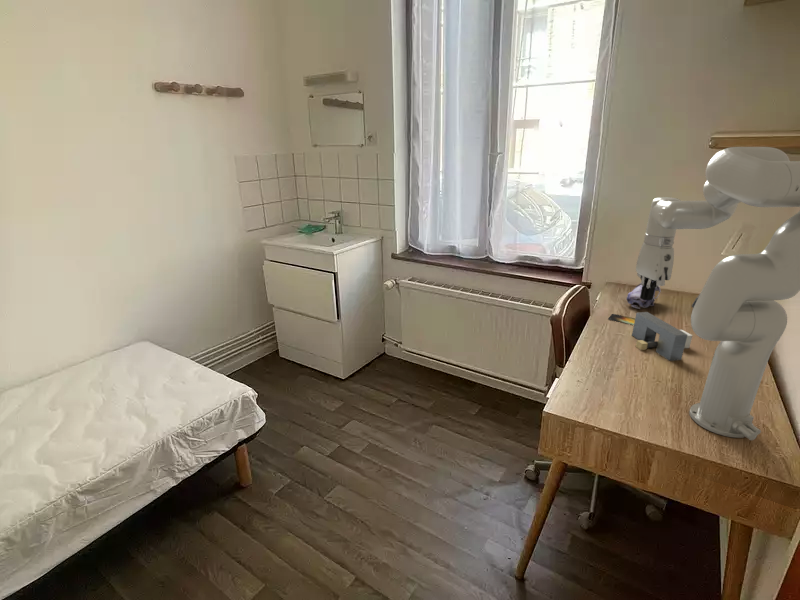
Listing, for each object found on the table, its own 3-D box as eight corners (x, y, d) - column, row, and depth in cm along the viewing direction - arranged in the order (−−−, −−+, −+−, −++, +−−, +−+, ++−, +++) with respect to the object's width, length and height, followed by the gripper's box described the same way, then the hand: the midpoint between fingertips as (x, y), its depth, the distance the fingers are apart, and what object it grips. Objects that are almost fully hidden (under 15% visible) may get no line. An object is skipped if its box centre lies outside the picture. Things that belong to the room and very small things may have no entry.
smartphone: (612, 313, 168) (656, 322, 159) (611, 315, 168) (655, 324, 160) (607, 319, 163) (652, 329, 154) (607, 320, 163) (652, 330, 154)
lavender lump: (666, 304, 177) (671, 281, 174) (645, 314, 168) (650, 289, 164) (641, 297, 185) (646, 275, 181) (620, 306, 175) (625, 283, 171)
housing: (681, 359, 134) (687, 334, 131) (669, 360, 133) (675, 335, 130) (642, 334, 150) (647, 312, 147) (631, 335, 150) (636, 312, 147)
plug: (689, 348, 141) (692, 335, 140) (642, 351, 139) (645, 338, 137) (678, 341, 145) (682, 329, 144) (633, 345, 143) (636, 332, 142)
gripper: (689, 246, 122) (674, 307, 128) (652, 234, 136) (641, 290, 142) (665, 247, 121) (651, 308, 127) (630, 235, 135) (619, 291, 141)
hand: (646, 298), depth 135 cm, fingers closed
